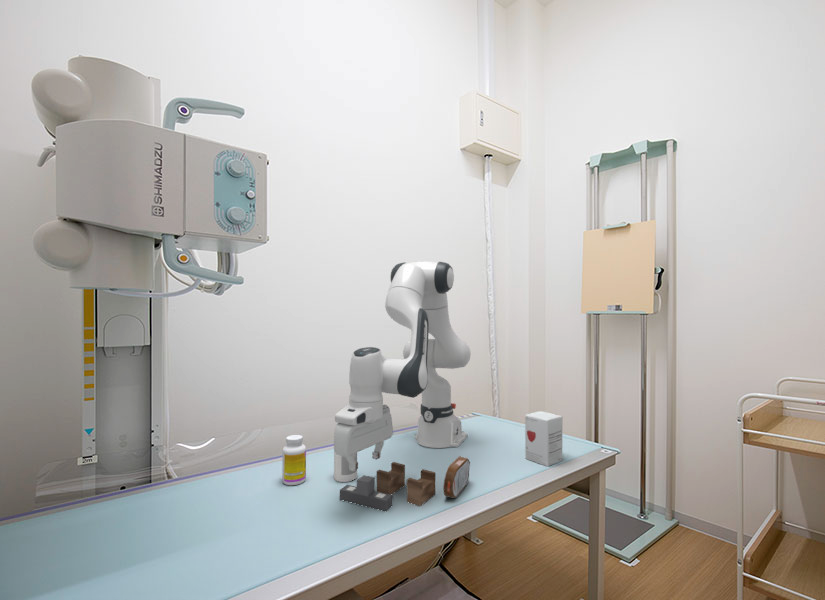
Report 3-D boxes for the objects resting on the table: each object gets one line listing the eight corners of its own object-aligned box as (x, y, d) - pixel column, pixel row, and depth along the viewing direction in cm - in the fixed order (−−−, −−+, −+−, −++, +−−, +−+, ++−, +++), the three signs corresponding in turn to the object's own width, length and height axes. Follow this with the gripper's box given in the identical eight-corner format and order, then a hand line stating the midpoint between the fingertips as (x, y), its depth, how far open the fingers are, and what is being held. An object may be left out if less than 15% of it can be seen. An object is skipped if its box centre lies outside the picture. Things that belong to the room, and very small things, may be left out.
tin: (461, 480, 121) (461, 451, 121) (471, 482, 120) (471, 453, 120) (442, 502, 107) (442, 469, 108) (453, 504, 106) (453, 471, 106)
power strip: (347, 495, 111) (347, 471, 112) (392, 506, 105) (392, 481, 105) (339, 501, 108) (339, 476, 108) (385, 512, 102) (385, 486, 102)
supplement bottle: (308, 483, 119) (308, 438, 119) (285, 488, 115) (285, 442, 116) (302, 474, 124) (302, 432, 125) (279, 479, 121) (280, 435, 121)
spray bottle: (352, 483, 118) (352, 421, 119) (330, 481, 120) (330, 419, 120) (360, 474, 125) (360, 415, 125) (339, 472, 126) (339, 413, 127)
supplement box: (524, 458, 138) (524, 414, 138) (539, 453, 144) (539, 410, 144) (547, 467, 131) (547, 420, 131) (563, 460, 137) (563, 415, 137)
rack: (393, 482, 119) (393, 461, 119) (435, 494, 112) (435, 472, 112) (376, 493, 112) (376, 471, 112) (420, 506, 105) (420, 482, 105)
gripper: (380, 401, 118) (379, 450, 117) (329, 416, 100) (329, 473, 100) (398, 404, 114) (397, 454, 114) (349, 420, 97) (348, 479, 96)
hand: (365, 463), depth 107 cm, fingers open, 8 cm apart
